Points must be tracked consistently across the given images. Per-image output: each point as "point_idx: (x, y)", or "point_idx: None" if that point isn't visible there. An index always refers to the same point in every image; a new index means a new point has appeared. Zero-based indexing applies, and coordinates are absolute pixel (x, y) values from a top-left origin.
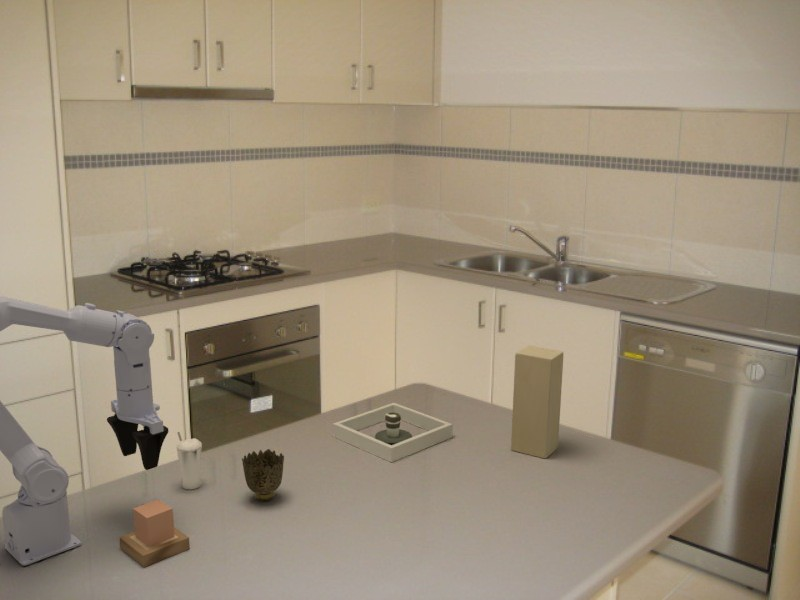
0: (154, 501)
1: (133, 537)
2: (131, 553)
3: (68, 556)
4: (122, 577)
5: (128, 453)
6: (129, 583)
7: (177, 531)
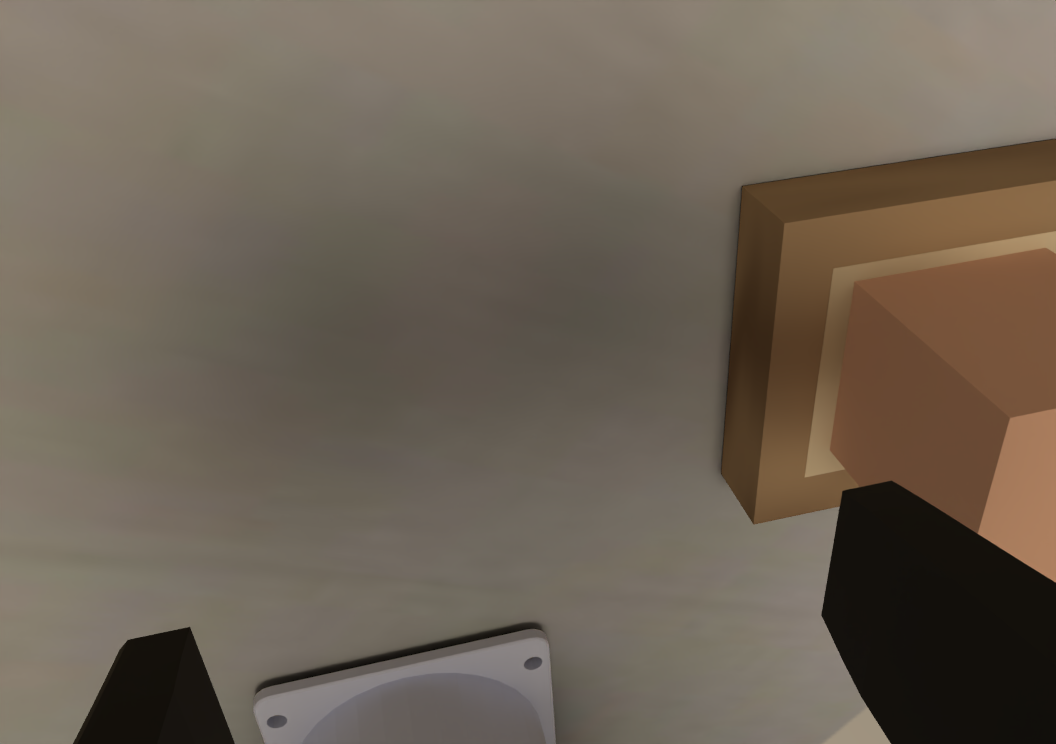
0: (1015, 456)
1: (829, 460)
2: None
3: (599, 675)
4: None
5: (220, 737)
6: None
7: (1006, 202)
